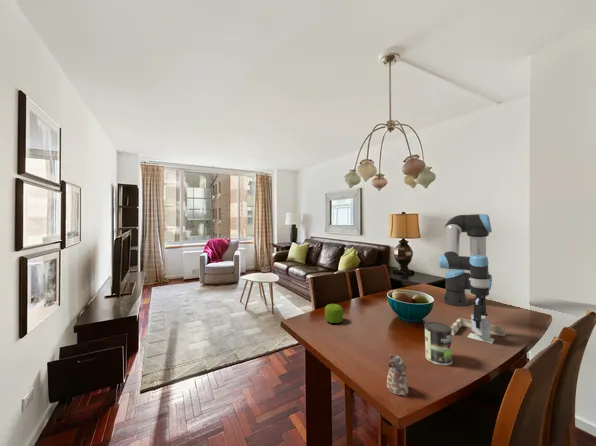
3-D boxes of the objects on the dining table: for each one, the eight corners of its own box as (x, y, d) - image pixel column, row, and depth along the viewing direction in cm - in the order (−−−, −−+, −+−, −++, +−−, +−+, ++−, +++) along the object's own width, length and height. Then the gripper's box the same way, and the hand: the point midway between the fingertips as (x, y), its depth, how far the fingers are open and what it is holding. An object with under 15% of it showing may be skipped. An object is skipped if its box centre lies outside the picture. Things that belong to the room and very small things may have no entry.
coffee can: (458, 361, 105) (457, 328, 104) (441, 368, 100) (440, 333, 100) (435, 350, 114) (435, 320, 114) (419, 355, 110) (419, 324, 110)
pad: (470, 333, 130) (470, 332, 130) (494, 339, 122) (494, 338, 122) (467, 337, 126) (467, 336, 126) (492, 343, 118) (492, 343, 118)
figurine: (404, 399, 84) (403, 364, 84) (383, 390, 88) (383, 356, 88) (411, 388, 89) (410, 355, 89) (391, 380, 94) (390, 348, 94)
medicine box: (490, 337, 120) (490, 320, 120) (480, 337, 120) (480, 319, 120) (480, 330, 128) (479, 314, 128) (471, 330, 128) (470, 313, 128)
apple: (347, 322, 148) (346, 304, 148) (333, 327, 142) (333, 308, 142) (334, 316, 158) (333, 299, 158) (321, 321, 152) (320, 303, 152)
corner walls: (459, 324, 141) (459, 317, 141) (504, 335, 126) (504, 327, 126) (450, 334, 129) (450, 326, 129) (499, 347, 115) (499, 339, 115)
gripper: (475, 281, 134) (476, 322, 134) (465, 289, 119) (466, 336, 119) (492, 283, 129) (493, 326, 129) (484, 292, 114) (485, 341, 114)
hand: (480, 331), depth 124 cm, fingers closed on medicine box, 9 cm apart
